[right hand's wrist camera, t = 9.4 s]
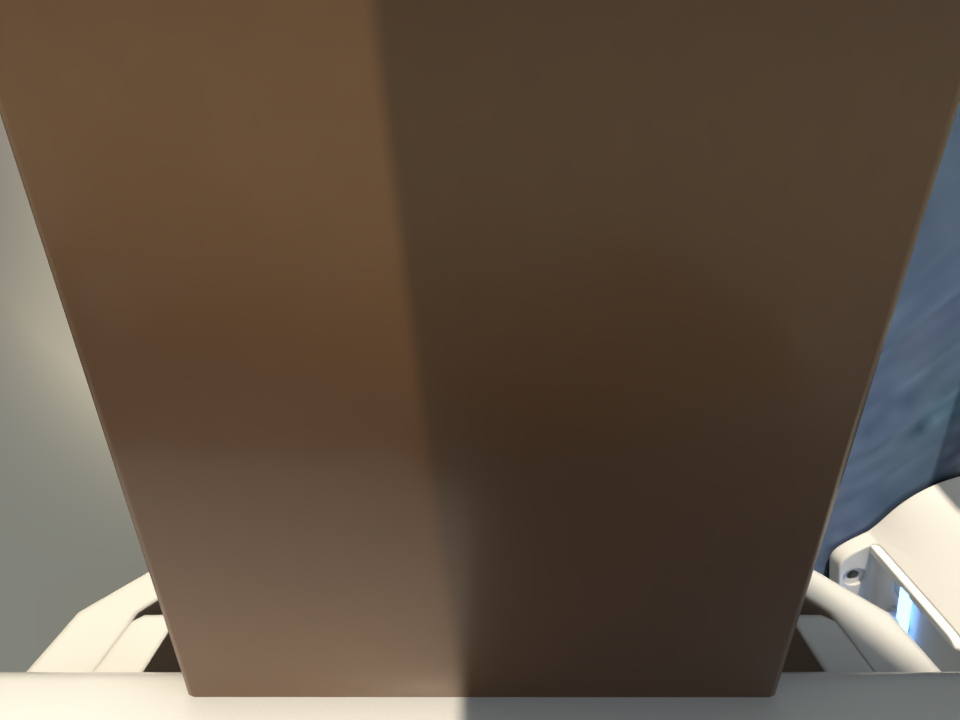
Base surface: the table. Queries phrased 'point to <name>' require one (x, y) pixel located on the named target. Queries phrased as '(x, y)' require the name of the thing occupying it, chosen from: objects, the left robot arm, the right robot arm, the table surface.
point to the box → (479, 318)
